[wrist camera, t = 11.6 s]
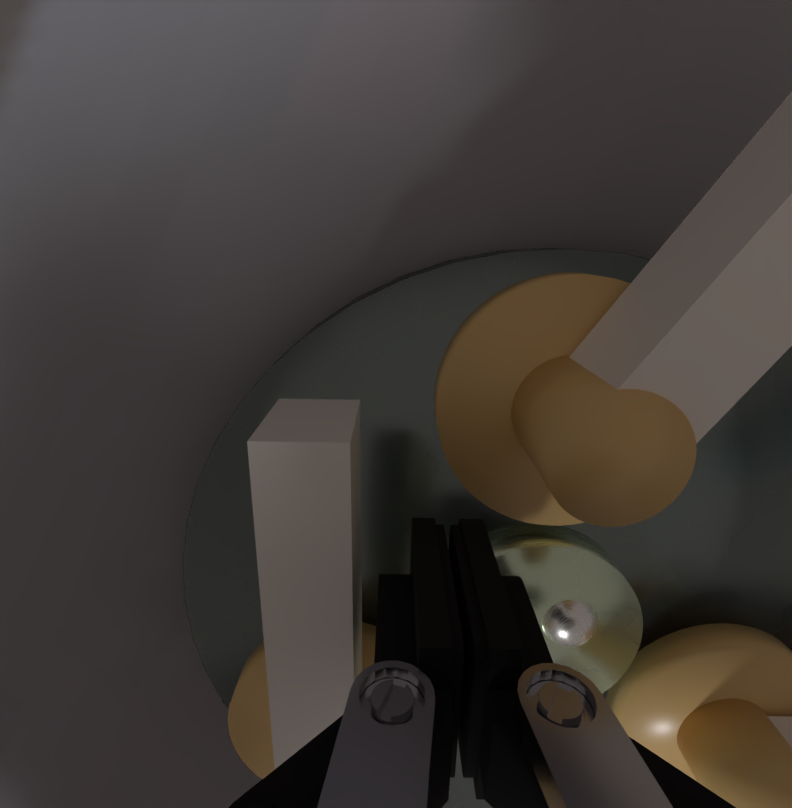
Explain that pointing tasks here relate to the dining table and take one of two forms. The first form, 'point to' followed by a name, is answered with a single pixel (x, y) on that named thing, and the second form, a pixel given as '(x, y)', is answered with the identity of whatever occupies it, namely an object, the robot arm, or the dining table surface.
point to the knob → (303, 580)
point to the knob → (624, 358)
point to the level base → (511, 539)
